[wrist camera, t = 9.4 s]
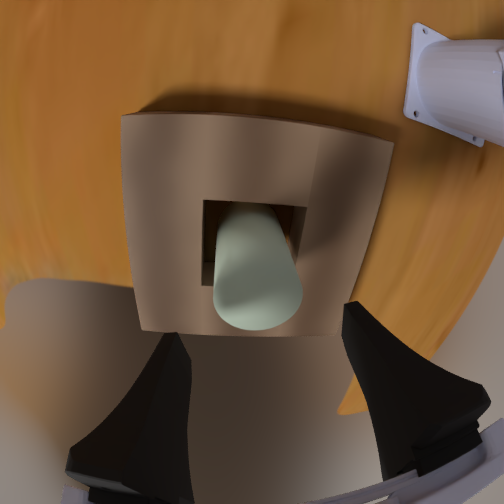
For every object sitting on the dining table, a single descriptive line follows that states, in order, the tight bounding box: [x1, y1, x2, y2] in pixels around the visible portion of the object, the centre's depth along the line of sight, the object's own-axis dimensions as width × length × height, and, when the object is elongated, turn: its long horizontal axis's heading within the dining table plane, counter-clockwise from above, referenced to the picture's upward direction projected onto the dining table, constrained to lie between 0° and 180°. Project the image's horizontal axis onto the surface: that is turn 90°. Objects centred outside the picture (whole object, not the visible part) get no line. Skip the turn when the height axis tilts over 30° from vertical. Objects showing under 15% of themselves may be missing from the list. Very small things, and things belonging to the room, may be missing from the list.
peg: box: [213, 201, 303, 330], centre depth 17 cm, size 4×4×8 cm
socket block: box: [121, 111, 394, 337], centre depth 20 cm, size 16×16×3 cm
